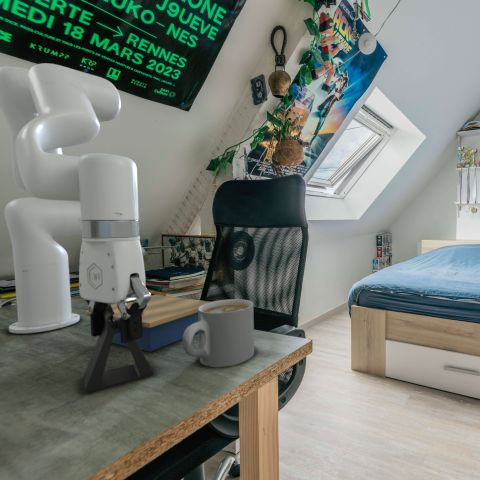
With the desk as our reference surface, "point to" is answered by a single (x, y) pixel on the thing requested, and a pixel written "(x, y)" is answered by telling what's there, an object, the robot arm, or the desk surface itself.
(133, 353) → the phone stand
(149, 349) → the blue box
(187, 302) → the oak board
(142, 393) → the desk surface
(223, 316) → the coffee mug
